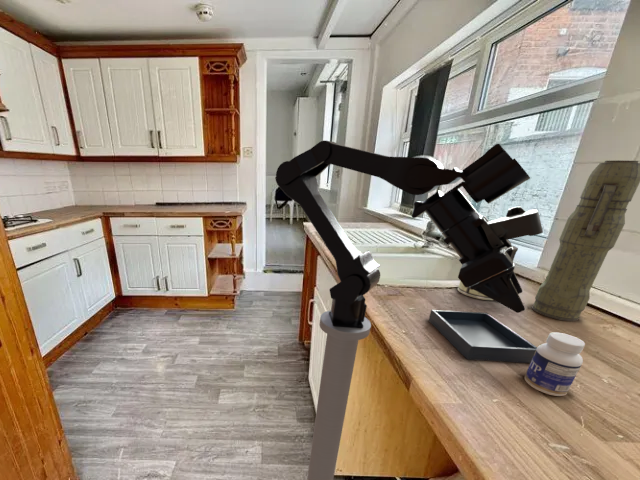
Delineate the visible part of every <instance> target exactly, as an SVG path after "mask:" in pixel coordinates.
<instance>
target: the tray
mask: <svg viewBox="0 0 640 480" xmlns="http://www.w3.org/2000/svg"><path fill="white" fill-rule="evenodd" d="M428 322H429V323H430V324H431V325H432V326H433V327H434V328H435V329H436V331H438V332H439V333H440V334H441V335H442V336H443V337H444V338H445V339H446V340H447V341H448V342H449V343H450V344H451V345H452V346H453V347H454V348H455V349H456V350H457V351H458V352H459V353H460V354H461V355H462V356H463V357H464V358H465V359H466V360H474V361H487V362H489V361H490V362H505V363H523V364H530V363H531V360H532V358H533V356H534V354H535V352H536V349H537V347H538V346H536V345H535V344H534V343H532V342H530V341H529V340H527V339H526V338H525V337H523V336H522V335H520V334H519V333H518V332H515V331H514V330H513V329H511V328H510V327H509V326H507V325H506V324H504V323H503V322H501V321H500V320H499V319H497V318H496V317H495V316H493V315H491V314H489V313H488V312H480V311H479V312H478V311H464V310H463V311H462V310H461V311H460V310H446V309H445V310H443V309H431V310H430V313H429V317H428Z"/></svg>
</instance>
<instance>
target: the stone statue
mask: <svg viewBox="0 0 640 480" xmlns="http://www.w3.org/2000/svg"><path fill="white" fill-rule="evenodd" d="M639 185H640V162H639V160H604V162H599V163H597V165H596V166H595V167H594V169H593V170H592V171H591V173H590V174H589V175H588V177H587V179H586V182H585V184H584V187H583V189H582V192H581V195H580V197H579V198H580V200H579V202H578V204H577V205H576V206H575V208H574V210H573V212H572V213H570V214H569V216H568V217H567V219H566V222H565V224H564V226H563V229H562V231H561V234H560V236H559V238H558V239H559V240H558V241H559V246H558V248H557V250H556V253H555V256H554V258H553V260H552V263H551V266H550V268H549V270H548V273H547V275H546V278H545V280H543V282H542V283H541V284H540V286H539V287H538V290H537V292H536V294H535V297H534V300H535V301H534V303H533V304H532V306H531V309H532V310H533V311H534V312H536V313H538V314H540V315H542V316H545V317H548V318H550V319H554V320H558V321H567V322H577V321H578V320H579V319H580V316H581V314H582V313H583V311H584V310H586V307H587V305H588V303H589V301H590V297H591V296H590V291H591V289H592V286H593V284H594V282H595V280H596V278H597V276H598V274H599V272H600V270H601V268H602V265H603V264H604V261H605V259H606V257H607V255H608V253H609V251H611V250H612V249H614V247H615V246H616V243H617V241H618V239H619V238H620V234H621V232H622V231H623V228H624V226H625V225H626V213H627V210H628V206H629V203H630V202H632V201H633V198H634V196H635V194H636V192H637V189H638V187H639Z"/></svg>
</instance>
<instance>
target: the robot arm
mask: <svg viewBox="0 0 640 480" xmlns="http://www.w3.org/2000/svg"><path fill="white" fill-rule="evenodd" d="M330 165H332V166H336V167H340V168H344V169H347V170H349V171H354V172H358V173H361V174H366V175H369V176H374V177H375V178H379V179H381V180H383V181H385V182H387V183H388V184H390V185H392V186H394V187H395V188H397V189H399V190H401V191H403V192H405V193H407V194H409V195H413V196H421V195H426V194H429V193H432V192H434V191H436V190H437V189H438V188H439V187H441V186H447V185H453V184H456V183H457V182H459V181H460V180H462V181H461V182H460V183H458V184H457V185H455V186H454V187H452V188H451V189H449V190H448V191H447V192H445V193H443V192H442V191H441V190H438V191H436V192H434V193H433V194H431V195H430V196H429V197H428V198H426V199H425V200H423V201H421V200H416V201H413V210H412V214H411V219H416V218H418V217H420V216H421V215H423V214H424V213H425V214H426V216H427V217H428V218H429V219H430V220H431V222H432V223H433V224H434V225H435V227H436V228H437V229H438V231H439V232H440V233H441V235H442V237H444V238H443V239H442V241H443V242H444V243H445V245H450V246H451V248H452V249H453V250H454V252H455V253H456V254H457V255H458V257H459V258H458V262H459V263H460V264H461V267H460V269H459V272H458V275H457V278H458V280H459V282H460V281H461V282H462V283H463V285H464V286H465V287H469V288H470V289H471V290H473V289H474V290H475V291H477V292H479V293H481V294H483V295H485V296H487V297H489V298H491V299H493V300H492V301H495V302H496V303H498V304H500V305H502V306H504V307H505V308H507V309H509V310H511V311H512V312H514V313H517V314H519V313H522V312H525V311H526V306H525V305H524V303H523V301H522V299H521V296H520V295H519V294H521V293H522V294H523V289H522V287H521V284H520V282H519V280H518V277H517V276H516V273H515V268H516V267H515V262H514V260H513V261H512V259H511V255H512V252H513V247H511V245H512V243H511V241H510V240H512V239H516V238H522V237H526V236H529V237H532V236H533V237H534V236H538V235H541V234H543V233H544V231H543V225H542V221H541V216H540V213H539V212H540V211H539V210H538V209H529V210H527V211H526V210H525V209H524V208H523V207H522V206H521V205H519V206H514V207H511V208H510V207H509V208H508V209H507V212H506V214H505V216H504V217H503V216H502V217H499V218H496V219H492V220H489V218H488V217H487V216H486V215H482V214H480V213H479V212H478V211H477V210H476V209H475V207H474V206H473V205H472V203H471V202H470V201H469V200H468V198H467V197H466V196H465V195H464V193H463V192H462V190H460V189H461V188H463V189H464V190H465V192H466V193H467V195H468V196H469V197H470V198H471V199H472V200H473V201H474V202H475V203H476V204H478V203H480V202H482V201H484V202H486V203H487V204H489V205H490V204H491V203H492V202H494V201H495V200H497V199H499V198H500V197H503V196H504V195H506V194H507V193H509V192H510V191H512V190H514V189H515V188H517V187H519V186H521V184H524V183H525V182H527V181H528V180H530V179H531V176H530V175H529V173H527V172H526V171H525V169H524V168H523V167H522V165H521V164H520V162H519V161H518V160H516V158H512V156H511V155H510V154H509V153H508V152H507V151H506V150H505V148H503V146H502V145H501V144H500V143H496V144H494V145H493V146H492V147H490V148H489V149H488V150H486V152H485V153H484V154H483V155H481V156H480V157H479V158H478V159H476V160H474V161H473V162H472V163H470V164H469V165H468V166H466V167H465V168H463V169H462V170H460V169H459V168H458V167H454V168H452V169H450V168H444V166H443V164H442V163H441V162H440V161H439V160H436V159H433V158H429V157H419V156H417V157H416V156H388V155H384V154H380V153H377V152H372V151H368V150H363V149H359V148H354V147H351V146H346V145H342V144H339V143H337V142H335V141H330V140H321V141H319V142H317V143H316V144H315V145H313V146H312V147H310V148H309V149H307V150H305V151H304V152H302V153H300V154H298V155H296V156H294V157H293V158H292V159H290V160H285V161H282V163H281V164H279V166H278V167H277V169H276V173H275V176H274V177H275V178H274V179H275V183H276V185H277V186H278V188H280V190H281V191H282V192H283V193H284V194H285V195H286V196H287V197H288V198H289V199H291V200H292V201H294V202H295V203H297V204H298V205H299V206H300V207H301V209H302V211H303V212H304V213H305V215H306V217H307V218H308V220H309V221H310V223H311V225H312V227H313V228H314V229H315V231H316V232H317V234H318V235H319V237H320V239H321V240H322V242H323V243H324V245H325V246H326V247H327V250H328V251H329V252H330V254H331V255H332V257H333V259H334V261H335V267H336V273H337V276H338V279H339V282H338V283H337V284H335V285H332V287H330V288H329V295H330V298H331V300H332V301H331V307H330V310H331V312H329V317H330V319H331V322H332V325H333V326H334V327H350V328H363V324H362V322H364V318H365V317H366V314H367V313H366V312H367V309H368V308H367V307H368V305H367V304H366V298H365V296H364V295H366V294H367V293H368V292H370V291H371V290H372V289H374V288H375V287H376V286H377V285H378V284H379V282H380V278H381V272H380V269H379V268H380V267H381V264H380V263H377V261H376V260H375V259H374V257H373V255H372V252H371V251H370V250H366V251H364V252H361V251H360V250H359V249H357V248H356V247H355V245H354V244H353V243H352V241H351V240H350V238H349V237H348V235H347V233H346V232H345V230H344V229H343V227H342V226H341V224H340V223H339V221H338V220H337V218H336V217H335V215H334V214H333V212H332V210H331V209H330V207H329V206H328V204H327V203H326V201H325V200H324V198H323V197H322V195H321V194H320V189H319V184H318V183H319V182H318V179H317V177H318V176H319V175H321V174H322V173H323V172H324V171H325V170H326V169H327V168H328V167H330ZM504 247H507V248H508V249H506V250H503V249H502V248H504ZM509 247H510V248H509Z"/></svg>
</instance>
